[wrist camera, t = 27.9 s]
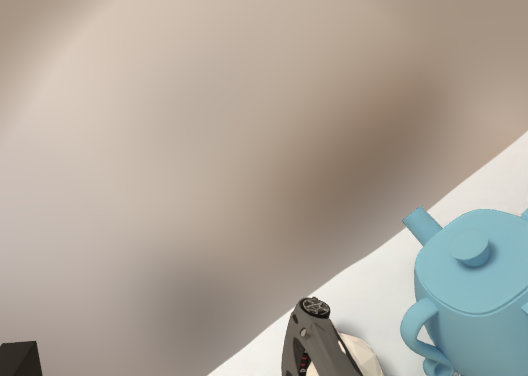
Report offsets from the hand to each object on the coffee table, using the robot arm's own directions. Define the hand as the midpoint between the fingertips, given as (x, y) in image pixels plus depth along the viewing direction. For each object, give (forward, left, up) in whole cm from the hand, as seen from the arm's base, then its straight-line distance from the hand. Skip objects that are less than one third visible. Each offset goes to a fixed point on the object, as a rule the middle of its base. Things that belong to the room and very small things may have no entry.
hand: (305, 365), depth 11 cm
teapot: (-3, -18, -28) cm, 33 cm away
